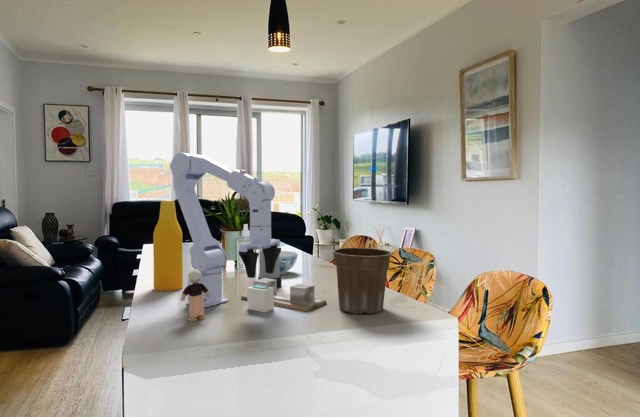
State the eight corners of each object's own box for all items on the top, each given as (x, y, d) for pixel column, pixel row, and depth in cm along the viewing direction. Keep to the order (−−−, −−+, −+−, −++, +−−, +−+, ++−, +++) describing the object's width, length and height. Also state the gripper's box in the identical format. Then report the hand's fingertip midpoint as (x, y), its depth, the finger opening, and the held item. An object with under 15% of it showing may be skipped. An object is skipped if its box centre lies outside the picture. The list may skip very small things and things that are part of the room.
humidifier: (283, 284, 158) (283, 212, 157) (279, 289, 150) (279, 213, 149) (260, 283, 159) (260, 212, 158) (254, 288, 151) (254, 213, 150)
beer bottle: (153, 292, 144) (152, 201, 143) (154, 286, 153) (153, 200, 152) (183, 290, 147) (182, 201, 146) (182, 284, 156) (182, 200, 155)
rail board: (306, 311, 123) (306, 291, 122) (241, 299, 136) (241, 281, 136) (326, 303, 131) (326, 285, 131) (263, 293, 144) (263, 275, 144)
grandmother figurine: (203, 314, 119) (202, 266, 119) (212, 317, 117) (211, 268, 116) (177, 321, 113) (176, 270, 113) (186, 324, 111) (186, 272, 110)
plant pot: (400, 306, 129) (400, 250, 128) (377, 320, 115) (377, 257, 114) (348, 299, 137) (349, 246, 136) (321, 311, 123) (322, 252, 122)
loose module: (264, 312, 122) (264, 289, 122) (247, 309, 125) (247, 286, 125) (273, 309, 125) (273, 286, 125) (257, 306, 129) (257, 284, 128)
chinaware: (302, 270, 184) (303, 252, 184) (289, 277, 170) (289, 257, 170) (269, 268, 189) (269, 250, 188) (253, 275, 174) (253, 255, 174)
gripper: (253, 228, 116) (253, 281, 117) (288, 224, 128) (288, 272, 129) (233, 227, 120) (233, 278, 121) (269, 223, 132) (269, 270, 133)
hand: (260, 275), depth 125 cm, fingers open, 7 cm apart
